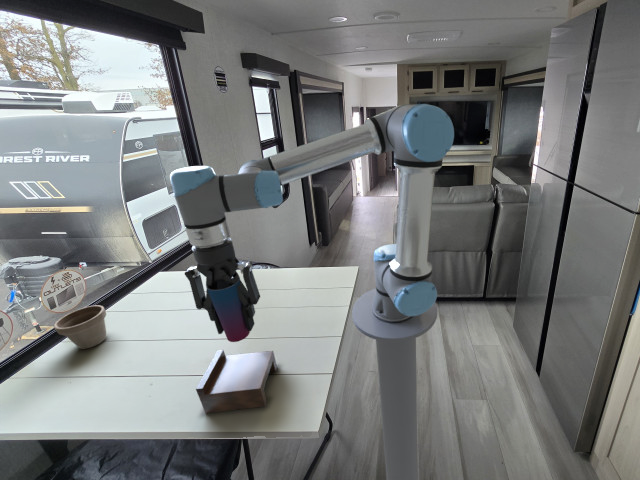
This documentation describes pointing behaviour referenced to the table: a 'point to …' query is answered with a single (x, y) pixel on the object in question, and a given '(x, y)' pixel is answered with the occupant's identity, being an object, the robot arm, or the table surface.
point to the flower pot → (84, 326)
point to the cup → (229, 310)
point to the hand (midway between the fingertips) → (236, 328)
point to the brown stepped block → (235, 381)
